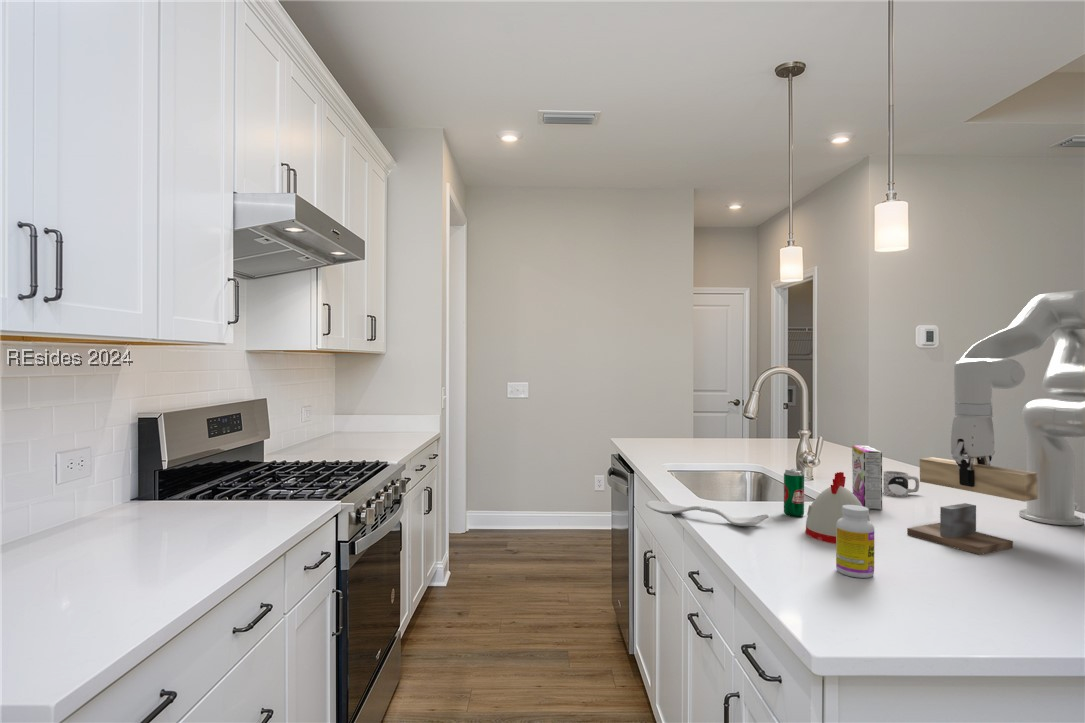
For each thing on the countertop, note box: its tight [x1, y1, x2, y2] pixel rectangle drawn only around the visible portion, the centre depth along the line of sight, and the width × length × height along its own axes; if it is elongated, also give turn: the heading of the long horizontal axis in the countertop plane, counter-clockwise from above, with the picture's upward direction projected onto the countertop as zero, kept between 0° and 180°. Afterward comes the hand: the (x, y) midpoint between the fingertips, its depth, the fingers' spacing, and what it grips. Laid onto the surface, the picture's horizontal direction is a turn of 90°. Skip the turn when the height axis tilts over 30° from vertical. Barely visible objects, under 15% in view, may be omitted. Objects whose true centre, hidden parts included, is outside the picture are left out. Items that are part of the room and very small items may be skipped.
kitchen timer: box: [805, 471, 871, 544], centre depth 141 cm, size 14×14×15 cm
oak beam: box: [919, 456, 1038, 503], centre depth 145 cm, size 5×24×6 cm, turn 23°
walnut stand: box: [906, 502, 1014, 555], centre depth 137 cm, size 12×16×8 cm
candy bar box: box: [851, 444, 883, 510], centre depth 170 cm, size 11×5×16 cm, turn 168°
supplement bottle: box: [835, 505, 875, 579], centre depth 116 cm, size 7×7×13 cm
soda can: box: [783, 468, 805, 518], centre depth 159 cm, size 5×5×12 cm
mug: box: [882, 470, 920, 497], centre depth 184 cm, size 10×7×7 cm
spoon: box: [645, 500, 770, 527], centre depth 156 cm, size 9×32×4 cm, turn 50°
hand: (974, 483), depth 145 cm, fingers closed on oak beam, 5 cm apart
